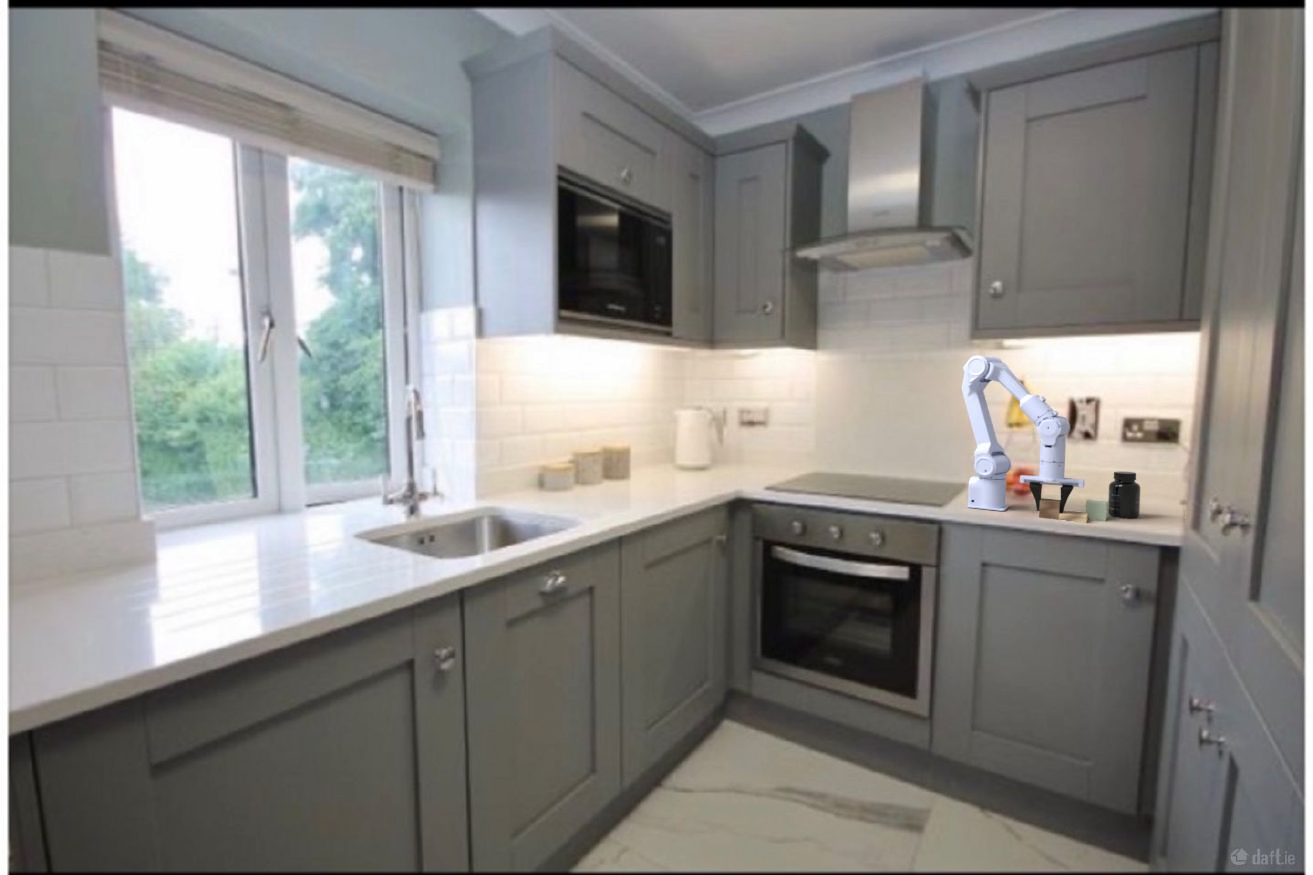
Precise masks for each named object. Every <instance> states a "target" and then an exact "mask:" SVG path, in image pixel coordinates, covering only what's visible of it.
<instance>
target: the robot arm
mask: <svg viewBox="0 0 1313 875" xmlns="http://www.w3.org/2000/svg"><path fill="white" fill-rule="evenodd" d="M962 369H963V372H964V374H963V379H962V383H961V392H962V396H963V400H964V403H965V408H966V411H967V414H968V417H969V422H970V425H971V430H972V432H973V436H974V440H975V444H976V449H975V451H974V454H973V456H974V464H973V469H974V471H975V473H976V474H977V476H976V475H975V476H974V475H973V476H970V478H969V480H968V495H967V498H968V499H967V506H966V507H967V508H972V509H981V510H990V511H991V510H992V511H1000V512H1005V511H1006V510H1007V509H1008V508H1010V505H1009V504H1006V500H1007V499H1006V496H1007V495H1006V494H1007V493H1006V492H1007V473H1009V472H1010V470H1011V468H1012V461H1011V459H1010V458H1009V457H1008V455H1007V454H1006V452H1005V449H1004V447H1003V446H1002V445H1001V444H999V442H998V439H997V435H996V432H995V428H994V425H993V421H992V418H991V414H990V411H989V407H988V403H987V400H986V396H985V392H984V391H985V389H986V388H987V386H988V385H989V384H990V383H991V382H992V381H993V382H998V383H999V384H1000V385H1001V386H1002V387H1004V388H1005V389H1006V390H1007V391H1008V393H1010V394H1011V395H1012V396H1013V397H1014V398H1015V399H1016V400H1017V401H1018V402H1019V410H1021V412H1022V413H1023V414H1024V415H1025V416H1026V417H1027V418H1028V419H1029V420H1030V422H1032V423H1033V424H1034V426H1036V432H1037V435H1039V437H1040V446H1039V447H1040V448H1039V469H1038V470H1039V473H1038V475H1023V474H1021V475H1020V477H1019V483H1020V484H1028V487H1029V488H1028V489H1029V490H1030V492H1031V493H1032V496H1033V499H1034V503H1035V506H1036V511H1038V512H1039V507H1040V500H1041V499H1042V493H1043V492H1042V490H1043V485H1045V486H1046V485H1048V486H1049V485H1050V486H1061V487H1060V500H1061V502H1060V513H1063V512H1064V511H1065V507H1066V503H1067V501H1068V498H1069V497H1070V495H1071V493H1072V491H1073V490H1074V488H1082V489H1083V488H1084V487H1085V479H1079V478H1072V477H1071V478H1070V477H1065V466H1066V465H1065V464H1066V447H1067V446H1066V438H1067V435H1068V434H1069V432H1070V430H1071V424H1070V422H1069V420H1068V419H1067V417H1064V416H1062V415H1059V412H1058V411H1057V410H1053V408H1051V406H1050V405H1049V404H1048V403H1047V402H1046V401H1047V398H1046V397H1044V396H1040V395H1038V394H1032V393H1030V391H1029V390H1028V389H1027V388H1026V387H1025V386H1024V384H1023V383H1022V382H1021V381H1020V380H1019V378H1017V376H1016V375H1015V374H1014V373H1013V371H1012V370H1011V369H1010V368H1009V366H1008V364H1007V363H1005V362H1003V361H1002V360H1001V358H1000V357H998V356H995V355H990V356H988V355H987V356H985V355H978V354H977V355H973V356H972V357H970V358H969V359H968V360H967V362H966V363H965V364H964V365H963V368H962Z"/></svg>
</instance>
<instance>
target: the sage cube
mask: <svg viewBox="0 0 1313 875" xmlns="http://www.w3.org/2000/svg"><path fill="white" fill-rule="evenodd" d="M1085 512H1088V518H1089V519H1088V520H1093V519H1097V520H1096V521H1102V520H1104V521H1103V522H1106V521H1107V520H1106V519H1108V516H1109V514H1108V501H1106V500H1105V501H1104V500H1095V499H1087V500H1086V502H1085Z"/></svg>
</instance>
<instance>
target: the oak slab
mask: <svg viewBox="0 0 1313 875" xmlns="http://www.w3.org/2000/svg"><path fill="white" fill-rule="evenodd" d="M1061 520H1066V521H1065V522H1071V521H1074V522H1073V523H1083V524H1087V523H1088V520H1089V519H1088V512H1086V511H1073V510H1064V512H1063V513H1060V514H1059V519H1058V521H1061Z"/></svg>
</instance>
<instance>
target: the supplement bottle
mask: <svg viewBox="0 0 1313 875" xmlns="http://www.w3.org/2000/svg"><path fill="white" fill-rule="evenodd" d="M1113 479H1114V480H1113V481H1111V482H1110V483H1109V484H1108V499H1107V500H1108V501H1107V502H1108V516H1110V517H1113V518H1116V517H1118V519H1125V518H1127V519H1130V520H1131V519H1138V518H1139V517H1140V510H1141V509H1140V508H1141V486H1140V484H1139V483H1138V482H1136V481H1137V473H1136V472H1133V471H1114V472H1113Z"/></svg>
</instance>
